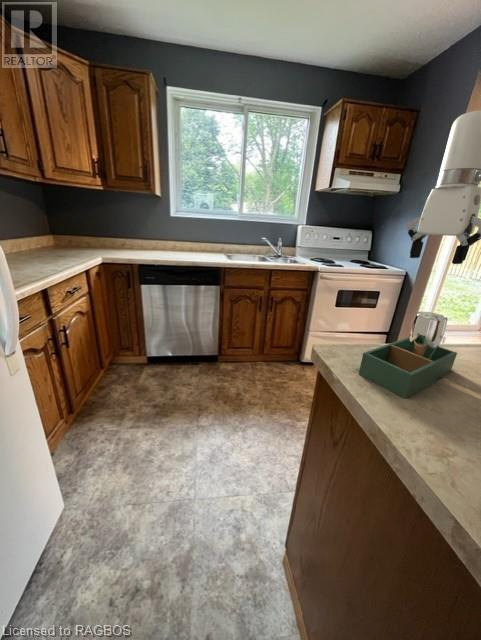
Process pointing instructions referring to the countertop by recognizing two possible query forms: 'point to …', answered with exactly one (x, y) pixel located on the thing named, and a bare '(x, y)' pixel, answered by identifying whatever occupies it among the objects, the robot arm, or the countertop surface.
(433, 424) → the countertop surface
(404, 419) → the countertop surface
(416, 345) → the beer glass
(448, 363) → the divided box
